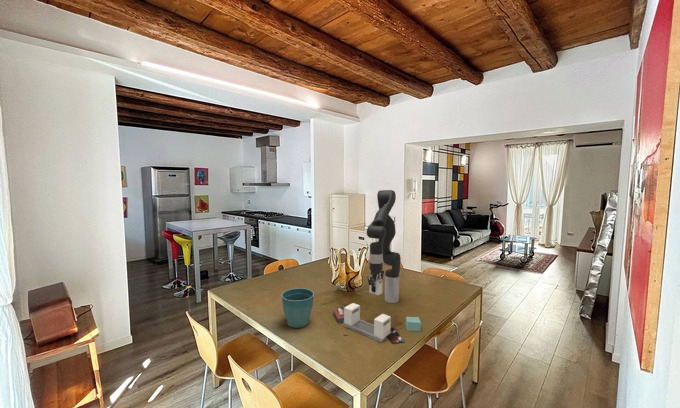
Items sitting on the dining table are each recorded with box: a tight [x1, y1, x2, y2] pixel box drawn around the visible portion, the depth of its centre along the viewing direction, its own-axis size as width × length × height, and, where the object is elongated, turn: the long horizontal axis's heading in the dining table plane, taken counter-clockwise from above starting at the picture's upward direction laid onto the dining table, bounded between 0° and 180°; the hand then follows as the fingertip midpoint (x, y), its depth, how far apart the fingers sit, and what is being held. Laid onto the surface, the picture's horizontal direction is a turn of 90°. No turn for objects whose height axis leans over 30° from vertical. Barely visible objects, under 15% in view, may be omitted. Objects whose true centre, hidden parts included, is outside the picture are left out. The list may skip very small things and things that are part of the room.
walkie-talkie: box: [333, 304, 345, 324], centre depth 172 cm, size 9×4×20 cm
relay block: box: [405, 316, 422, 332], centre depth 157 cm, size 5×6×7 cm
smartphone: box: [386, 327, 406, 345], centre depth 150 cm, size 7×1×15 cm
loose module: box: [368, 278, 383, 296], centre depth 162 cm, size 4×6×8 cm
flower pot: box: [281, 287, 315, 329], centre depth 162 cm, size 18×18×17 cm
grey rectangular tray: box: [342, 319, 391, 343], centre depth 155 cm, size 10×25×2 cm, turn 50°
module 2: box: [373, 313, 392, 339], centre depth 148 cm, size 8×5×9 cm, turn 140°
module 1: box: [344, 302, 361, 325], centre depth 161 cm, size 8×5×9 cm, turn 140°
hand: (375, 290), depth 162 cm, fingers closed on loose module, 4 cm apart
